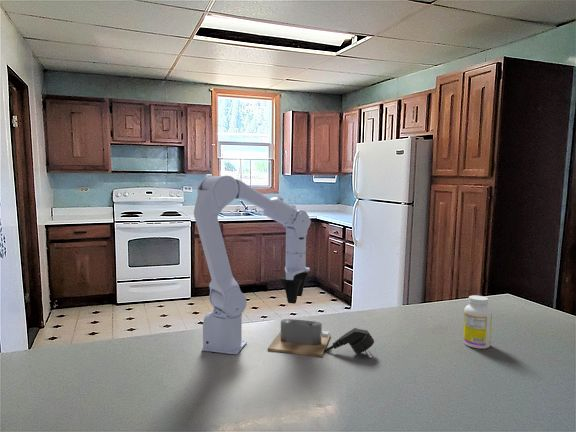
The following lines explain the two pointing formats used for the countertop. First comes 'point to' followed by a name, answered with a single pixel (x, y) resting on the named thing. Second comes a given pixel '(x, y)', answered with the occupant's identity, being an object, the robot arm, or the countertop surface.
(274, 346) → the oak board
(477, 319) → the supplement bottle
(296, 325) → the grey capsule with tab
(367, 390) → the countertop surface
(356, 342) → the power plug
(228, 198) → the robot arm
